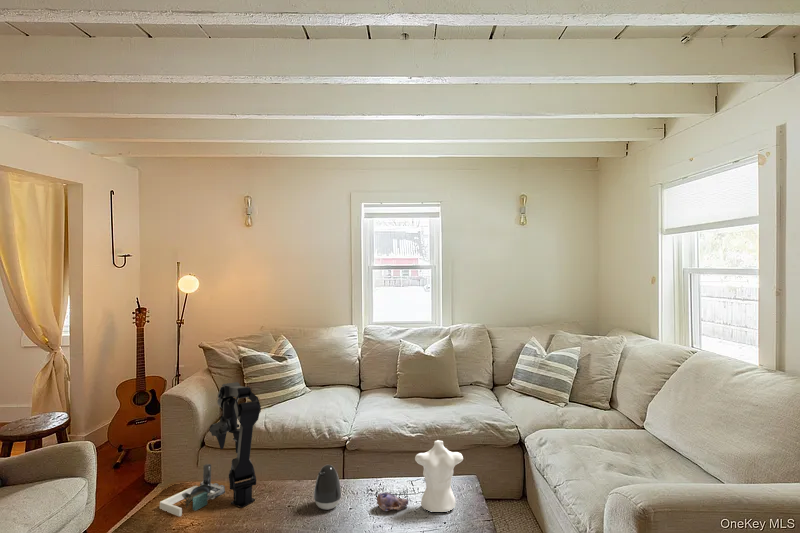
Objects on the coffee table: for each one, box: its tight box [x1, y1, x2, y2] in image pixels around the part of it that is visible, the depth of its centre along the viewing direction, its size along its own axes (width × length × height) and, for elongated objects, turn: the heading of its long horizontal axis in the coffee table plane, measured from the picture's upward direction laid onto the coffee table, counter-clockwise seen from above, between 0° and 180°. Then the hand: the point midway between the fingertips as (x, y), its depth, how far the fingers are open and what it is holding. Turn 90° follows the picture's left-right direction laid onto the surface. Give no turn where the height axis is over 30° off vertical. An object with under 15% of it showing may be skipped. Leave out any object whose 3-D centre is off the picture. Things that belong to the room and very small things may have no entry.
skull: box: [376, 491, 409, 512], centre depth 162 cm, size 12×8×6 cm, turn 96°
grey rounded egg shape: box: [313, 464, 342, 511], centre depth 164 cm, size 10×10×15 cm
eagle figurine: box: [182, 485, 212, 509], centre depth 166 cm, size 8×7×9 cm
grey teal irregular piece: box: [192, 463, 224, 511], centre depth 169 cm, size 13×14×10 cm
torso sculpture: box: [414, 439, 464, 512], centre depth 164 cm, size 18×10×25 cm, turn 95°
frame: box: [159, 484, 215, 517], centre depth 165 cm, size 11×15×2 cm
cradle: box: [212, 484, 226, 499], centre depth 172 cm, size 2×5×3 cm, turn 152°
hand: (229, 450), depth 183 cm, fingers open, 9 cm apart
